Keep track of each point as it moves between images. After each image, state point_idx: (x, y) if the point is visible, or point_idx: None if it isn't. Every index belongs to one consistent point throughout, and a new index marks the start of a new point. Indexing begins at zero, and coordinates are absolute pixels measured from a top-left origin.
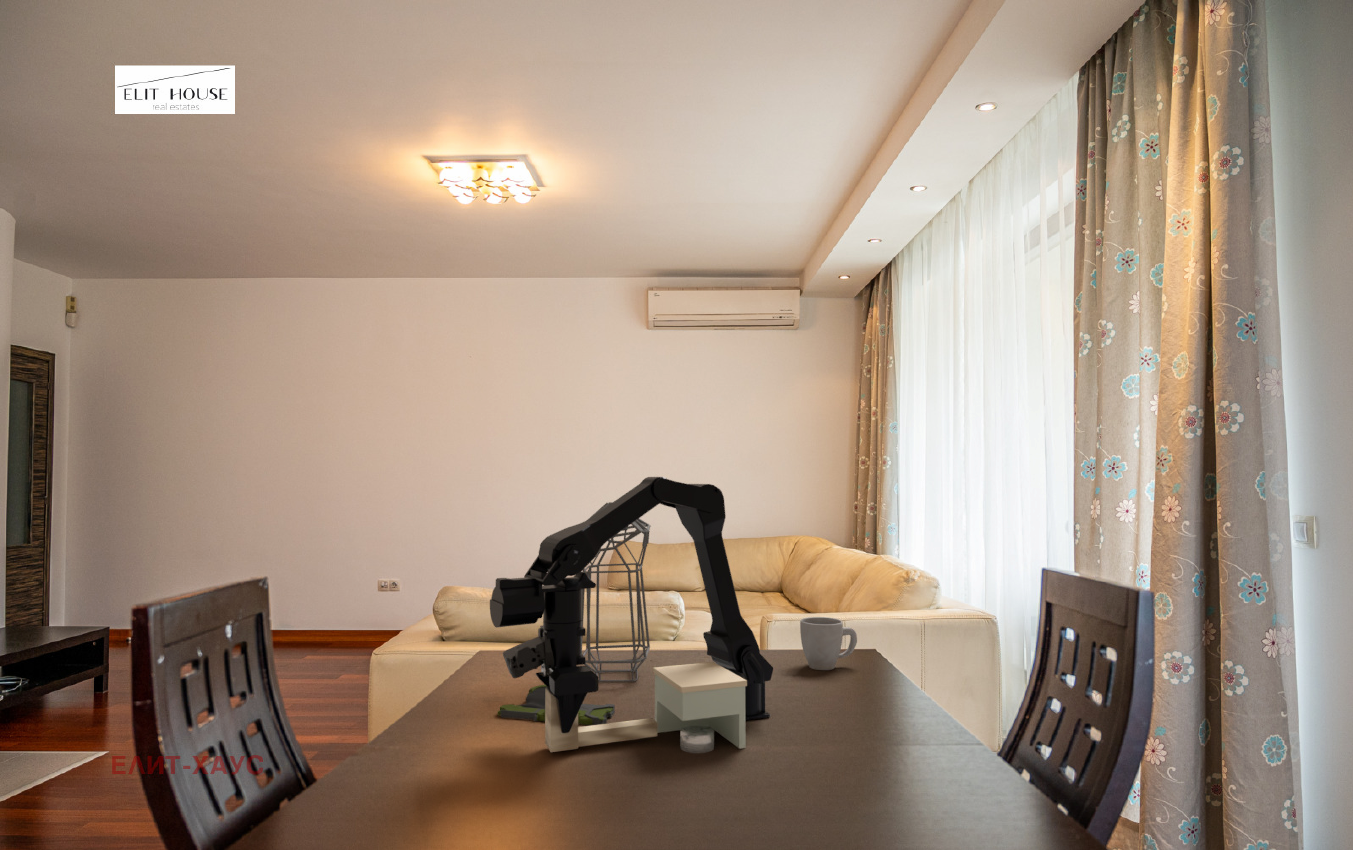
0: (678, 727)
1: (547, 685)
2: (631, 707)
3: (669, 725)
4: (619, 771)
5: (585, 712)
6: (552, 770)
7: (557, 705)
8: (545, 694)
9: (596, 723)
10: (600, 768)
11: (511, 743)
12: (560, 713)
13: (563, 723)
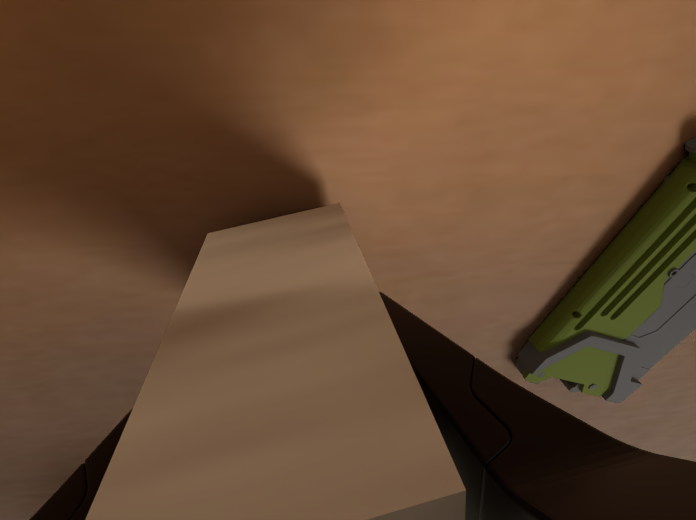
0: None
1: (530, 517)
2: (612, 410)
3: None
4: (74, 434)
5: (616, 332)
6: (27, 238)
7: (86, 509)
8: (426, 410)
9: (524, 354)
10: (93, 390)
11: (447, 6)
12: (90, 459)
13: None
